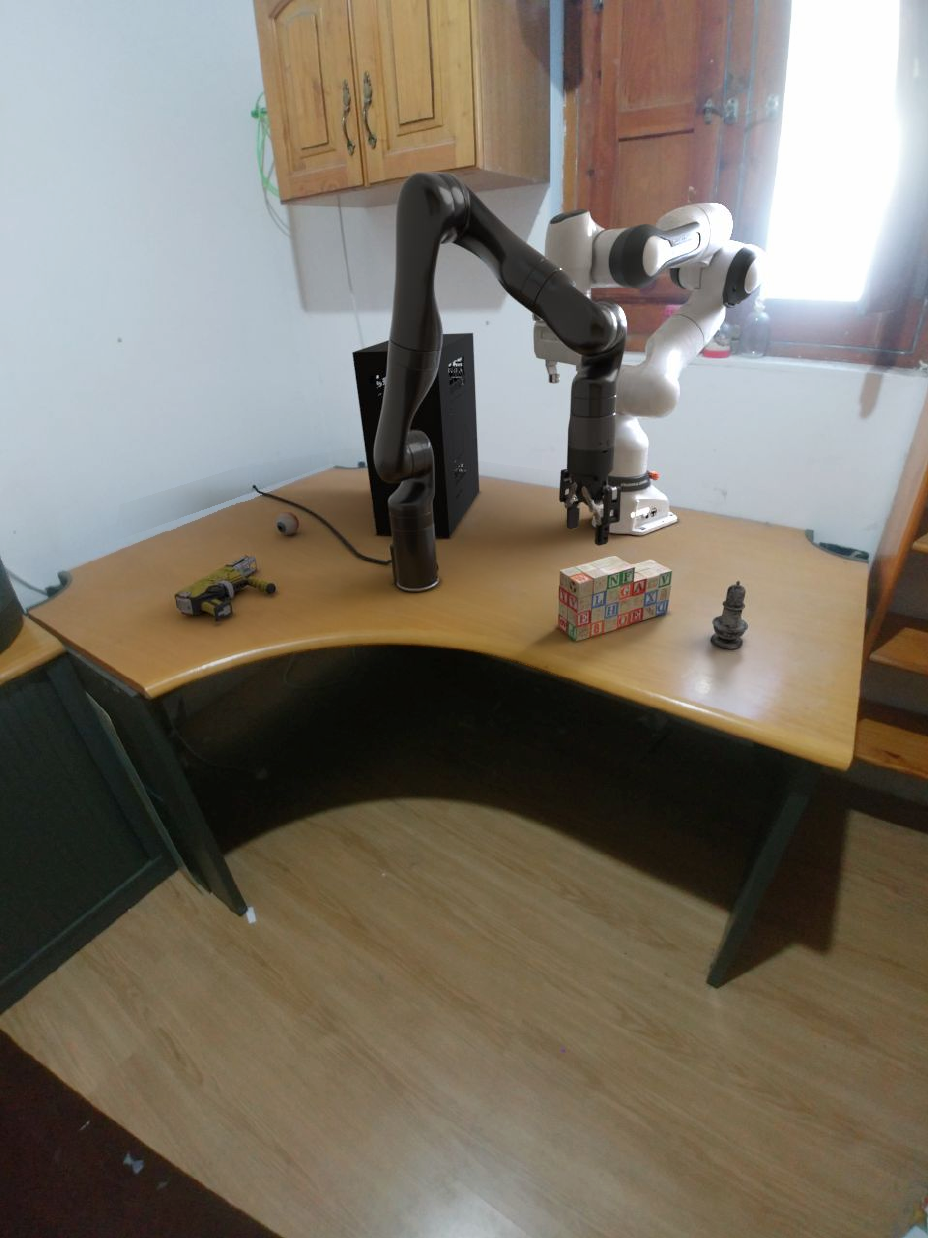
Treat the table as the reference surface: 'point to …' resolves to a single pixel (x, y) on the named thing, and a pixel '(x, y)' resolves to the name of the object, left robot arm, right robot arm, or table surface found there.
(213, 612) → the toy gun
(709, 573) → the table surface
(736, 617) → the grey chess piece
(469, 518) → the table surface
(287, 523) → the eyeball
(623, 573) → the stack of blocks
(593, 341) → the left robot arm
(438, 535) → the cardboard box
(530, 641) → the table surface
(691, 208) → the right robot arm
